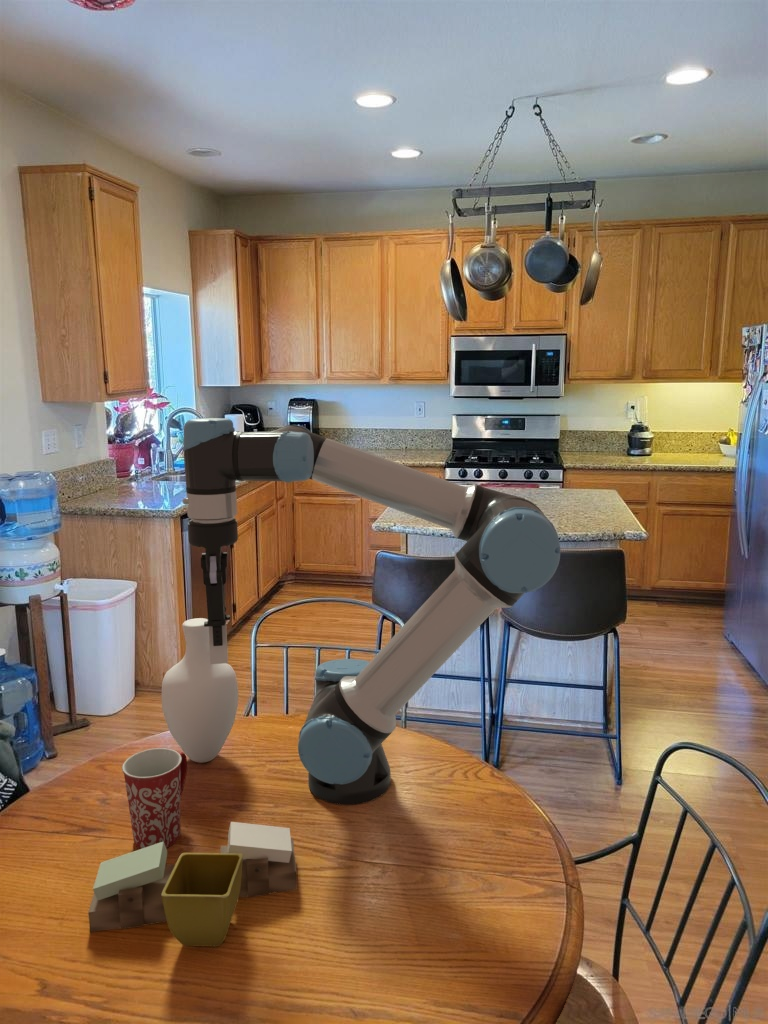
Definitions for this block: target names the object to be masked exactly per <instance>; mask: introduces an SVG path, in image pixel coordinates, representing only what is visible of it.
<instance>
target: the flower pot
mask: <svg viewBox="0 0 768 1024" xmlns="http://www.w3.org/2000/svg"><path fill="white" fill-rule="evenodd" d="M242 862H243V855H242V854H239V853H220V852H219V853H218V852H213V853H212V852H182V853H181V854H180V855H179V857H178V858H177V861H176V863H174V864H175V867H174V869H173V871H172V873H171V875H170V877H169V879H168V881H167V883H166V885H165V887H164V889H163V891H162V894H161V896H162V901H163V906H164V910H165V915H166V920H167V922H166V923H167V927H168V928H169V929H168V930H169V931H170V932H171V934H172V935H173V936H174V938H175V939H176V940H177V941H178V942H179V943H181V945H182V946H185V947H188V946H189V947H219V946H221V945H222V944H223V942H224V941H225V938H226V936H227V934H228V931H229V927H230V925H231V921H232V918H233V915H234V913H235V911H236V910H235V909H236V907H237V904H238V900H239V898H240V897H239V893H240V887H241V876H242ZM238 897H239V898H238Z"/></svg>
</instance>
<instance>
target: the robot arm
mask: <svg viewBox="0 0 768 1024" xmlns="http://www.w3.org/2000/svg"><path fill="white" fill-rule="evenodd" d="M182 452H183V460H184V474H185V475H184V477H185V490H186V491H185V492H186V497H184V498H183V499H182V504H183V505H188V506H187V507H186V509H187V517H188V518H189V519H190V520H188V522H187V534H188V538H187V539H188V544H190V545H191V546H193V547H196V548H203V549H205V552H202V553H201V557H200V566H201V569H202V575H203V584H204V586H205V593H206V594H205V595H206V608H207V609H206V611H207V619H208V621H207V622H204V627H208V626H209V646H210V664H222V663H227V664H229V662H228V661H229V654H228V652H229V651H228V636H227V635H228V633H227V631H228V629H227V621H230V620H231V615H230V614H226V612H227V607H226V595H225V594H226V592H225V584H226V583H227V567H228V552H225V551H224V552H223V547H225V546H226V547H227V546H231V545H234V544H236V543H237V542H238V540H239V537H238V536H239V533H238V520H237V519H236V518H235V517H236V516H237V515H238V501H237V500H238V499H237V497H238V496H237V487H236V482H237V481H239V482H244V481H247V482H248V481H252V482H254V481H255V482H285V483H292V482H305V481H308V480H312V481H315V482H318V483H321V484H324V485H326V486H330V487H332V488H335V489H337V490H341V491H343V492H346V493H349V494H352V495H354V496H357V497H360V498H363V499H365V500H367V501H372V502H374V503H377V504H380V505H382V506H385V507H388V508H391V509H393V510H396V511H399V512H402V513H404V514H407V515H410V516H413V517H416V518H417V519H421V520H424V521H426V522H430V523H433V524H435V525H437V526H441V527H443V528H446V529H448V530H451V532H452V534H453V536H454V538H456V539H459V540H461V541H464V542H465V543H464V544H463V546H461V548H460V549H458V551H457V552H456V553H455V554H454V570H453V571H452V573H450V574H449V575H448V577H447V578H446V579H444V581H443V582H442V583H441V584H440V585H439V586H438V588H437V589H435V591H434V592H433V593H432V594H431V595H430V596H429V598H427V599H426V601H424V603H422V605H421V606H420V607H418V609H417V610H416V611H415V612H414V613H413V615H412V616H411V617H410V618H409V619H408V620H407V621H406V622H405V624H403V626H402V627H401V628H400V629H399V630H398V631H397V632H396V633H395V634H394V635H393V636H392V638H390V639H389V641H388V642H386V644H385V645H384V646H383V647H382V648H381V650H379V652H377V654H376V655H375V656H374V657H373V658H372V659H371V660H370V661H368V660H367V659H366V660H365V659H359V658H358V659H357V658H340V659H331V660H328V661H324V662H323V663H320V664H319V665H318V666H317V667H316V669H315V670H316V671H315V677H314V681H315V696H314V699H313V701H312V704H311V706H310V708H309V711H308V713H307V716H306V719H305V722H304V724H303V725H302V727H301V729H300V731H299V733H298V735H299V736H298V744H297V750H298V757H299V760H300V762H301V763H302V766H303V767H304V769H305V770H306V771H307V772H308V775H307V776H308V777H307V779H308V788H309V790H310V792H311V793H312V794H313V795H314V796H315V797H316V798H318V799H320V800H321V801H324V802H327V803H330V804H334V805H335V804H336V805H341V806H342V805H344V806H345V805H346V806H350V805H351V806H353V805H359V804H365V803H368V802H372V801H374V800H376V799H378V798H380V797H382V796H383V795H385V793H386V792H387V791H388V790H389V788H390V786H391V783H392V781H391V775H392V774H391V767H390V764H389V761H388V758H387V755H386V752H385V749H384V746H383V743H384V742H385V741H386V740H387V738H388V737H389V736H390V735H391V734H392V733H393V732H394V731H395V729H396V727H397V719H396V718H397V717H396V715H397V713H399V711H401V709H402V708H403V707H404V706H405V705H406V704H407V703H408V702H409V701H410V700H411V699H412V698H413V697H414V695H416V694H417V692H419V690H420V689H421V688H422V687H423V686H424V685H425V684H426V683H427V682H428V681H429V680H430V679H431V678H432V676H433V675H435V674H436V672H437V671H438V670H439V669H440V668H441V667H442V666H443V665H444V664H445V663H446V662H447V661H448V660H449V658H451V657H452V656H453V655H454V653H456V652H457V650H458V649H459V648H460V647H461V646H462V645H464V643H465V642H466V641H467V640H468V639H469V638H470V637H471V636H472V635H473V633H474V632H475V631H476V630H477V629H478V628H480V626H481V625H482V624H483V623H484V622H485V621H486V619H488V618H489V616H490V615H491V614H492V613H493V612H495V610H496V609H502V608H503V609H505V608H512V607H514V605H515V604H516V603H517V602H518V600H520V599H521V598H522V596H524V594H527V593H531V592H533V591H536V590H539V589H540V588H542V587H543V586H544V585H546V584H547V583H548V582H549V581H550V580H551V579H552V578H553V576H554V575H555V573H556V571H557V569H558V567H559V565H560V561H561V560H560V559H561V544H560V537H559V535H558V532H557V530H556V528H555V526H554V524H553V522H552V521H550V519H549V518H548V517H547V516H546V515H545V514H544V513H543V511H542V510H541V509H540V507H538V506H537V505H536V504H535V503H534V502H532V501H531V500H529V499H526V498H525V497H520V496H517V495H513V494H509V493H505V492H501V491H497V490H494V489H491V488H487V487H484V486H482V485H479V484H475V483H473V484H471V485H468V486H463V485H460V484H458V483H455V482H452V481H449V480H446V479H444V478H441V477H439V476H436V475H432V474H430V473H427V472H424V471H421V470H418V469H415V468H412V467H410V466H407V465H404V464H401V463H399V462H395V461H393V460H391V459H387V458H385V457H381V456H379V455H376V454H373V453H370V452H367V451H365V450H362V449H359V448H356V447H354V446H351V445H349V444H348V445H347V444H345V443H342V442H339V441H337V440H334V439H331V438H328V437H324V436H322V435H319V434H317V433H314V432H311V430H309V429H308V428H306V427H305V426H303V425H297V424H287V425H284V426H281V427H280V428H278V429H274V430H271V431H249V432H248V431H236V428H235V427H234V422H233V420H231V419H230V418H224V417H223V418H222V417H221V418H219V417H210V418H209V417H207V418H204V417H203V418H202V417H201V418H193V419H189V420H187V421H185V423H184V425H183V448H182Z"/></svg>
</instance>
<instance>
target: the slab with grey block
mask: <svg viewBox="0 0 768 1024" xmlns="http://www.w3.org/2000/svg"><path fill="white" fill-rule="evenodd" d="M175 864H176V863H173V864H165V870H164V876H163V878H162V879H159V880H157V881H154V882H151V883H148V884H145V885H142V886H139V887H136V888H131V889H123V890H119V894H116V895H113V896H110V897H107V898H104V899H101V900H98V901H97V898H96V896H95V893H94V892H93V895H92V899H91V902H90V905H89V909H88V913H87V914H88V923H89V932H90V933H94V932H101V931H107V930H115V929H121V930H124V929H132V928H138V927H144V926H145V925H146V926H147V925H153V924H161V923H167V920H166V915H165V910H164V906H163V901H162V896H161V894H162V891H163V889H164V887H165V885H166V883H167V881H168V879H169V877H170V875H171V873H172V871H173V869H174V867H175Z"/></svg>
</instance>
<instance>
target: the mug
mask: <svg viewBox="0 0 768 1024" xmlns="http://www.w3.org/2000/svg"><path fill="white" fill-rule="evenodd" d="M187 758H188V757H187V755H186V754H185V753H184V751H176V750H174V749H172V748H165V747H162V748H161V747H155V748H148V749H145V750H141V751H139V752H136V753H134V754H132V755H130V756H129V757H127V759H126V760H125V761H124V762H123V764H122V767H121V770H122V773H123V775H124V783H125V788H126V789H125V790H126V796H127V802H128V810H129V815H130V816H129V817H130V823H131V829H132V830H131V831H132V837H133V842H134V845H135V847H136V848H138V850H139V849H142V848H145V847H148V846H151V845H154V844H157V843H160V842H164V844H165V847H166V849H167V848H169V847H172V846H173V845H174V844H175V843H176V842H177V841H179V839H180V836H181V831H182V830H181V823H182V822H181V797H182V794H183V791H184V786H185V782H186V778H187V771H188V759H187Z"/></svg>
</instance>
